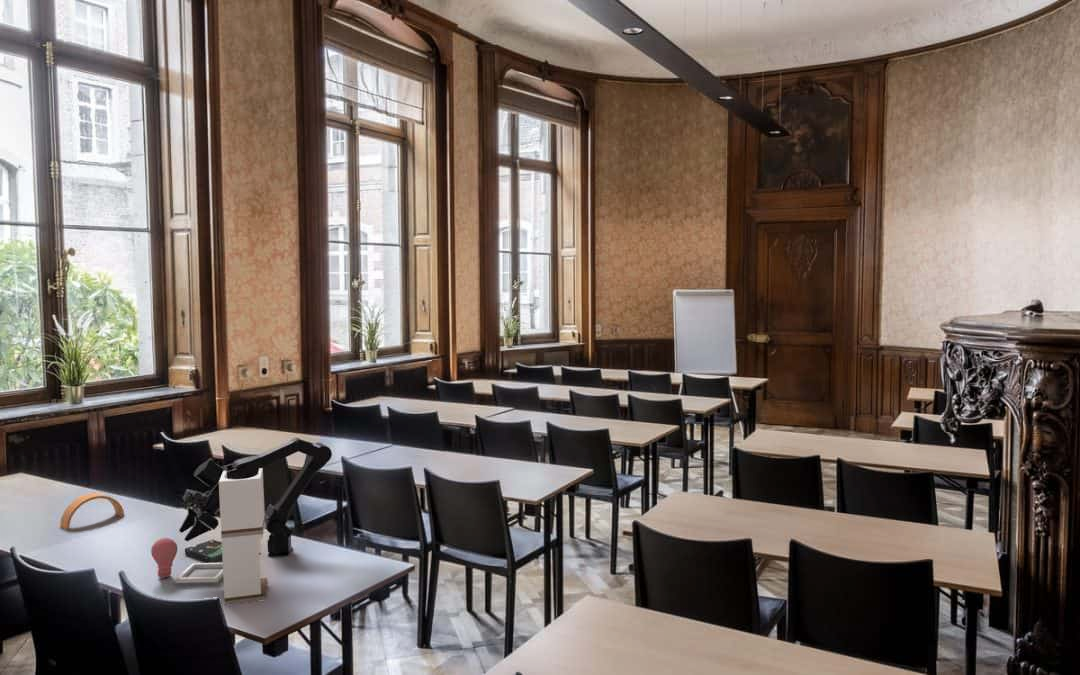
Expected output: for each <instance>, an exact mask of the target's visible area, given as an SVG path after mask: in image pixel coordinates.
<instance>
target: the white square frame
mask: <svg viewBox="0 0 1080 675" xmlns="http://www.w3.org/2000/svg"><path fill="white" fill-rule="evenodd" d="M222 581H224V579H223V562H216V563H206V562H197V563H196V562H192V563H191V564H190V565H189V566H187V568H185V570H183V572H181V573H180V574H179V575H178V576H177V577H175V587H196V586H197V587H198V586H200V587H202V586H203V587H205V586H218V585H219V584H220V583H221V582H222Z"/></svg>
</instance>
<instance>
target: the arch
mask: <svg viewBox="0 0 1080 675" xmlns="http://www.w3.org/2000/svg"><path fill="white" fill-rule="evenodd" d="M97 499H104V500H107V501H109V502H110V504H111V505H112V507H113V508H114V512H115V515H117V516H120V517H124V516H125V511H124V509H123V506H122V505H121V503H120V502H119V501H118V500H116V499H114V498H113V497H111V496H108V495H106V494H102V493H98V492H93V493H88V494H87V493H86V494H83V495H82V496H79V497H76V498H75V500H73V501H72V502H71V503H69V505H68V506H67V507H66V508H65V510H64V511H63V513H62V515H61V518H60V522H59V523H60V524H59V526H60V527H59V528H62V529H64V530H66V531H69V530H70V528H71V527H70V526H71V520H72V518H73V517H74V515H75V514H76V512H77V510H78V509H80V508H81V507H82V506H83V505H84V504H86V503H88V502H90V501H93V500H97Z"/></svg>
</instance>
